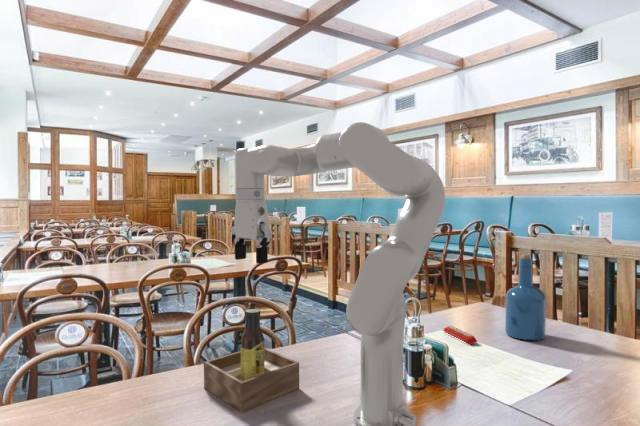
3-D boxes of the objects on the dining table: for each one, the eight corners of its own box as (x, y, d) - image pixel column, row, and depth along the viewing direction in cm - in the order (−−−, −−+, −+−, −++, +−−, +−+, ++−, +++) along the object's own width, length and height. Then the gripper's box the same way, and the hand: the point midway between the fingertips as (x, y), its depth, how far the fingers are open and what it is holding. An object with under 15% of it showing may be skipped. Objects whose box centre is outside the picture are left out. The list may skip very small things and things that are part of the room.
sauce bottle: (260, 391, 107) (259, 314, 106) (237, 389, 108) (236, 313, 107) (268, 380, 113) (267, 308, 112) (246, 378, 114) (245, 307, 114)
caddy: (299, 388, 111) (299, 362, 110) (241, 412, 98) (241, 383, 98) (259, 368, 123) (259, 345, 123) (204, 387, 111) (203, 362, 111)
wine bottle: (496, 333, 156) (497, 253, 155) (521, 328, 161) (522, 251, 160) (529, 344, 143) (530, 258, 142) (554, 339, 149) (556, 255, 148)
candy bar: (441, 332, 157) (441, 324, 157) (450, 331, 158) (450, 324, 158) (469, 347, 142) (469, 338, 142) (478, 345, 143) (478, 337, 143)
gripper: (282, 195, 105) (282, 262, 106) (243, 196, 118) (244, 256, 118) (257, 195, 100) (258, 266, 101) (220, 196, 113) (221, 259, 113)
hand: (250, 260), depth 110 cm, fingers open, 9 cm apart
